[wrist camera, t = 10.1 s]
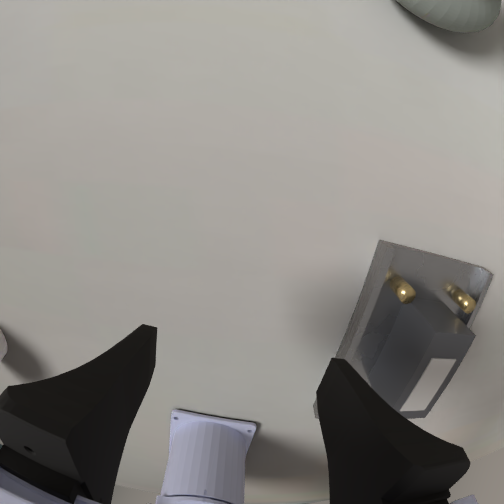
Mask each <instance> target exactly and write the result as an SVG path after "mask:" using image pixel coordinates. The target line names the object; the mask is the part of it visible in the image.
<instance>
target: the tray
mask: <svg viewBox="0 0 504 504" xmlns="http://www.w3.org/2000/svg"><path fill="white" fill-rule="evenodd" d="M493 275H494V274H492V273H491V272H489V271H488V270H486V269H485V268H484V267H481V266H477V265H474V264H470V263H466V262H463V261H459V260H456V259H452V258H448V257H444V256H441V255H437V254H433V253H429V252H426V251H422V250H418V249H414V248H410V247H406V246H402V245H398V244H394V243H390V242H386V241H382V240H379V242H378V245H377V248H376V251H375V254H374V257H373V260H372V263H371V266H370V269H369V272H368V275H367V278H366V281H365V284H364V286H363V289H362V292H361V295H360V297H359V300H358V303H357V305H356V308H355V311H354V313H353V316H352V318H351V321H350V323H349V326H348V328H347V331H346V333H345V336H344V338H343V341H342V343H341V345H340V348H339V350H338V352H337V355H336V357H335V358H340V359H345V360H346V361H347V362H348V363H349V364H350V365H351V366H352V367H353V368H354V369H355V370H356V371H357V372H358V373H359V374H360V376H361V377H362V378H363V379H364V380H365V381H366V382H367V383H368V384H369V385H370V386H371V384H370V381H369V379H368V377H369V375H370V373H371V371H372V369H373V367H374V365H375V363H376V361H377V359H378V357H379V355H380V353H381V351H382V349H383V347H384V345H385V343H386V341H387V339H388V336H389V334H390V332H391V330H392V328H393V325H394V323H395V321H396V319H397V316H398V314H399V312H400V309H401V307H402V305H403V303H404V304H409V303H411V302H412V301H413V300H414V298H418V299H424V300H430V301H436V302H442V303H445V304H446V305H447V306H448V307H449V308H450V309H451V310H452V311H453V313H454V314H455V315H456V316H457V317H458V318H459V319H460V320H461V321H462V322H463V323H464V324H465V325H466V326H467V327H468V328H469V329H470V327H471V325H472V323H473V321H474V319H475V317H476V315H477V312H478V310H479V308H480V306H481V304H482V301H483V299H484V297H485V294H486V292H487V290H488V287H489V285H490V282H491V280H492V277H493ZM371 388H372V386H371ZM313 408H314V413H315V418H318V419H319V416H318V409H317V399H316V401H315V403H314V405H313ZM411 419H414V418H411Z"/></svg>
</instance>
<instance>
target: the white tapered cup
mask: <svg viewBox="0 0 504 504" xmlns="http://www.w3.org/2000/svg"><path fill="white" fill-rule="evenodd" d="M6 353H7V342H6V339H5V336H4V335H3V333H2V331H1V329H0V361H1V360H2V359H3V357H4V356H5V354H6Z"/></svg>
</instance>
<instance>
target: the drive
mask: <svg viewBox="0 0 504 504" xmlns="http://www.w3.org/2000/svg"><path fill="white" fill-rule="evenodd" d="M475 336H476V335H475V334H474V333H473V332H472V331H471V330H470V329H469V328H468V327H467V326H466V325H465V324H464V323H463V322H462V321H461V320H460V319H459V318H458V317H457V316H456V315H455V314H454V313H453V311H452V310H451V309H450V308H449V307H448V306H447V305H446V304H445V303H442V302H436V301H430V300H424V299H418V298H414V300H413V301H412V302H411V303H409V304H404V303H403V305H402V307H401V309H400V312H399V314H398V316H397V319H396V321H395V323H394V325H393V328H392V330H391V332H390V334H389V336H388V339H387V341H386V343H385V345H384V347H383V349H382V351H381V353H380V355H379V357H378V359H377V361H376V363H375V365H374V367H373V369H372V371H371V373H370V375H369V377H368V379H369V381H370V384H371V386H372V389H373V390H374V391H375V392H376V393H377V394H378V395H379V396H380V397H381V398H382V399H383V400H385V401H386V402H387V403H388V404H389V405H390V406H391V407H392V408H393V409H395V410H396V411H397V412H398V413H400V414H401V415H402V416H403V417H405V418H406V419H410V418H425V417H426V416H427V414H428V413H429V411H430V410H431V409H432V407H433V406H434V404H435V403H436V401H437V400H438V398H439V397H440V395H441V394H442V392H443V391H444V389H445V388H446V386H447V385H448V383H449V382H450V380H451V378H452V377H453V375H454V373H455V372H456V370H457V368H458V367H459V365H460V363H461V362H462V360H463V358H464V356H465V355H466V353H467V351H468V349H469V347H470V346H471V344H472V342H473V340H474V338H475Z"/></svg>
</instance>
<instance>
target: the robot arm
mask: <svg viewBox="0 0 504 504" xmlns="http://www.w3.org/2000/svg"><path fill="white" fill-rule="evenodd" d="M156 340H157V327H153V326H149V325H144V324H142V325H141V326H139V327H138V328H137V329H136V330H134V331H133V332H132V333H131V334H129V335H128V336H127V337H125V338H124V339H123V340H122V341H120V342H119V343H117V344H116V345H115V346H113V347H112V348H110V349H109V350H108V351H106V352H104V353H103V354H101V355H100V356H98V357H97V358H95V359H93V360H91V361H90V362H88V363H86V364H84V365H82V366H80V367H78V368H76V369H73V370H71V371H68V372H66V373H63V374H60V375H58V376H55V377H52V378H48V379H45V380H41V381H37V382H32V383H27V384H21V385H14V386H8V387H7V388H6V389H5V390H4V392H3V393H2V394H1V395H0V439H1V440H2V442H3V444H4V445H3V446H2V448H1V449H0V504H111V500H112V495H113V490H114V486H115V481H116V477H117V473H118V468H119V465H120V461H121V457H122V453H123V450H124V446H125V443H126V439H127V436H128V433H129V430H130V428H131V425H132V423H133V421H134V418H135V416H136V414H137V412H138V409H139V407H140V405H141V403H142V401H143V398H144V396H145V394H146V392H147V389H148V387H149V385H150V381H151V378H152V375H153V372H154V368H155V361H156ZM316 394H317V409H318V416H319V421H320V425H321V430H322V435H323V439H324V444H325V448H326V453H327V459H328V469H329V487H330V504H449V503H448V501H447V498H449V497H450V495H451V494H450V492H449V488H451V487H452V486H453V485H454V484H455V483H456V482H457V481H458V480H459V479H460V478H461V477H462V476H463V475H464V474H465V473H466V472H467V470H468V469H469V467H470V461H469V459H468V457H467V455H466V453H465V451H464V449H463V448H462V447H459V446H457V445H454V444H451V443H449V442H446V441H444V440H442V439H440V438H438V437H436V436H434V435H432V434H430V433H428V432H426V431H424V430H423V429H421V428H419V427H418V426H416V425H415V424H413V423H412V422H410V421H409V420H407V419H406V418H405V417H403V416H402V415H401V414H400V413H398V412H397V411H396V410H395V409H393V408H392V407H391V406H390V405H389V404H388V403H387V402H386V401H385V400H383V399H382V398H381V397H380V396H379V395H378V394H377V393H376V392H375V391H374V390H373V389H372V388H371V386H370V385H369V384H368V383H367V382H366V381H365V380H364V379H363V378H362V377H361V376H360V374H359V373H358V372H357V371H356V370H355V369H354V368H353V367H352V366H351V365H350V364H349V363H348V362H347V361H346V360H345V359H340V358H331V361H330V363H329V365H328V367H327V370H326V372H325V374H324V376H323V379H322V381H321V383H320V385H319V387H318V390H317V392H316ZM255 431H256V424H255V423H252V422H245V421H238V420H231V419H225V418H219V417H213V416H207V415H202V414H197V413H192V412H187V411H182V410H177V409H175V410H172V413H171V428H170V448H169V459H168V463H167V468H166V472H165V476H164V481H163V485H162V490H161V494H160V496H159V495H157V498H156V502H155V504H244V488H245V457H246V454H247V452H248V449H249V446H250V444H251V441H252V439H253V436H254V433H255ZM147 504H151V503H147ZM450 504H478V503H477V500H476V498H475V496H474V495H470V496H467V497H464V498H461V499H458V500H456V501H454V502H452V503H450Z"/></svg>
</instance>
